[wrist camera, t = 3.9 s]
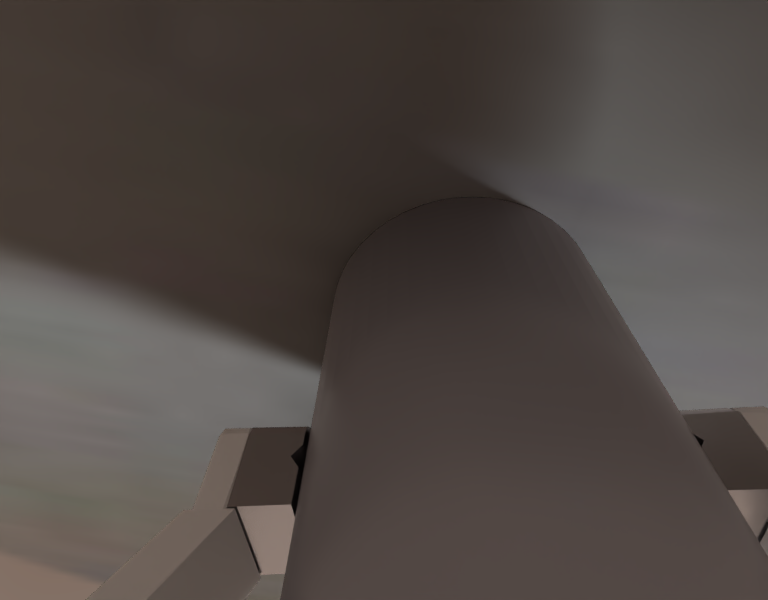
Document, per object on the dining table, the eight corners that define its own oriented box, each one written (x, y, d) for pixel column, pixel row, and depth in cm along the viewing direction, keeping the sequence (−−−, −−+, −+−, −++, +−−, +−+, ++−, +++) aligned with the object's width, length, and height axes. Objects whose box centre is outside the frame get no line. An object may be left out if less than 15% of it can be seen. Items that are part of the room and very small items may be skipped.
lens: (617, 184, 10) (1462, 1095, 2) (579, 406, 14) (855, 1100, 6) (312, 205, 11) (37, 1050, 3) (347, 416, 14) (277, 1080, 6)
